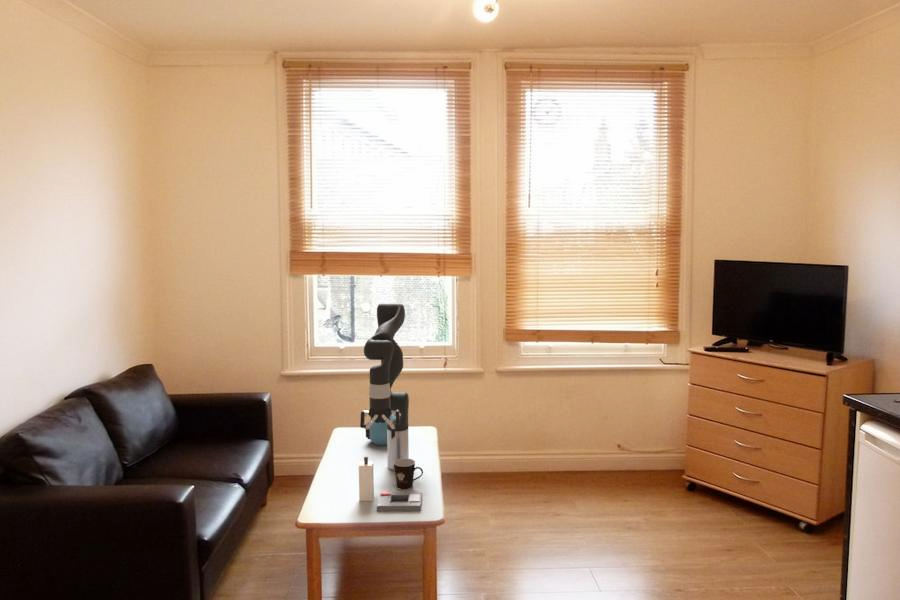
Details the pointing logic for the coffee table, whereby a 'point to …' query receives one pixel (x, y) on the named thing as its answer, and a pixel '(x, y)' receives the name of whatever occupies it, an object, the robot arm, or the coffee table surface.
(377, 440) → the vase
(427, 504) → the coffee table surface
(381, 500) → the socket
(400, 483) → the coffee mug
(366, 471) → the plug
